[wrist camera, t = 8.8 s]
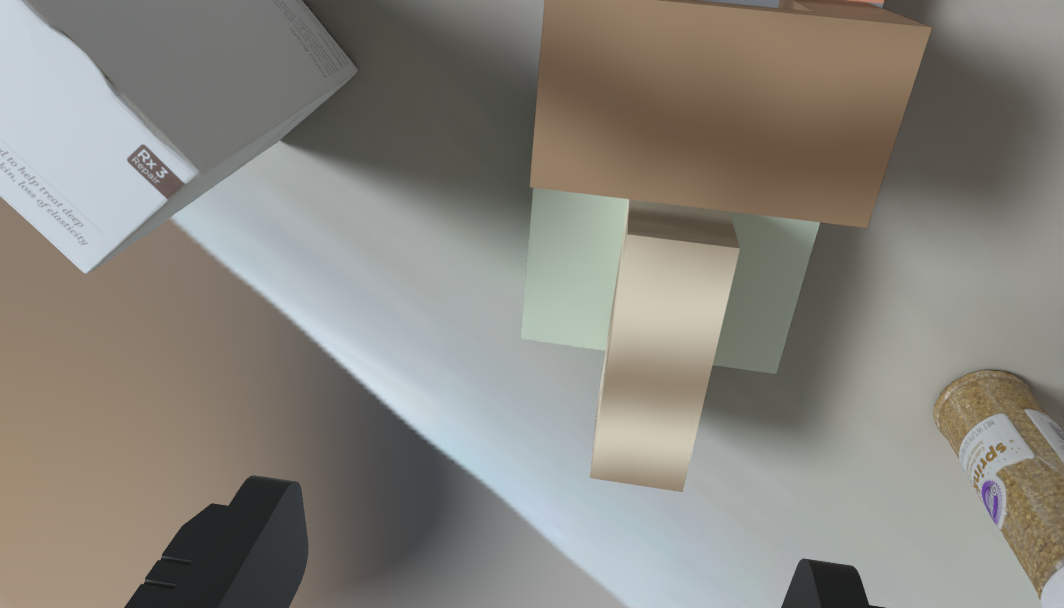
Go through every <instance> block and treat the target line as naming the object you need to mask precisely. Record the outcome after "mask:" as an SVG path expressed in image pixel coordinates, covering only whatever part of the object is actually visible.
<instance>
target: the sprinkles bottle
mask: <svg viewBox="0 0 1064 608" xmlns="http://www.w3.org/2000/svg"><path fill="white" fill-rule="evenodd" d="M933 416H934V420H935V423H936V425H937V427H938V429H939V430H940V432H941V433H942V434H943V435H944V436H945V437H946V438H947V439H948V441H949V443H950V445H951V447H952V448H953V450H954V451H955V453H956V455H957V457H958V458H959V460H960V464H961V466H962V468H963V470H964V472H965V474H966V475H967V477H968V479H969V481H970V482H971V484H972V486H973V487H974V489H975V491H976V492H977V494H978V496H979V498H980V499H981V501H982V503H983V504H984V506H985V508H986V509H987V511H988V513H989V515H990V516H991V518H992V520H993V522H994V523H995V524H996V526H997V527H998V528H999V530H1001V532H1002V533H1003V536H1004V538H1005V539H1006V541H1007V542H1008V544H1009V546H1010V547H1011V549H1012V550H1013V552H1014V554H1015V555H1016V557H1017V559H1018V561H1019V563H1020V564H1021V566H1022V567H1023V569H1024V570H1025V572H1026V574H1027V576H1028V577H1029V579H1030V581H1031V582H1032V584H1033V586H1034V588H1035V590H1036V591H1037V593H1038V596H1039V599H1040V600H1041V607H1042V608H1064V431H1063V430H1062V429H1061V428H1060V426H1059V425H1058V424H1057V423H1056V422H1055V421H1054V420H1053V419H1052V418H1050V417H1049V416H1048V415H1047V414H1046V413H1045V411H1044V410H1043V409H1042V408H1041V407H1040V406H1039V404H1038V403H1037V401H1036V400H1035V399H1034V397H1033V395H1032V393H1031V390H1030V388H1029V387H1028V386H1027V384H1026V383H1024V382H1023V381H1022V380H1021V379H1019V378H1018V377H1016V376H1015V375H1012V374H1009V373H1007V372H1002V371H994V370H981V371H978V372H973V373H969V374H967V375H965V376H963V377H961V378H959V379H957V380H955V381H953V382H952V383H951V384H950V385H948V386H947V387H946V388H945V389H944V390H943V391H942V392H941V394H940V396H939V398H938V399H937V401H936V404H935V406H934V412H933Z"/></svg>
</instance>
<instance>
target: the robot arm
mask: <svg viewBox="0 0 1064 608" xmlns="http://www.w3.org/2000/svg"><path fill="white" fill-rule="evenodd" d="M307 558H308V538H307V529H306V522H305V514H304V507H303V498H302V491H301V487H300V484H299V483H298V482H296V481H289V480H282V479H276V478H269V477H262V476H254V475H253V476H250V477H249V478H247V479H246V481H245V482H244V483H243V485H242V486H241V487H240V489H239V490H238V492H237V494H236V495H235V497H234V498H233V500H232V501H231V503H230V504H229V506H226V505H219V504H210V505H209V506H208V507H206V508H205V509H204V510H203V511H201V512H200V513H199V514H197V515H196V516H195V517H193V518H192V519H191V520H190V521H188V522H187V523H185V524H184V525H183V526H182V527H181V529H180V530H179V531H178V532H177V534H176V535H175V537H174V538H173V540H172V541H171V542H170V544H169V545H168V547H167V548H166V549H165V551H164V552H163V554H162V558H161V560H158V561H157V562H156V564H155V565H154V566H153V568H152V569H151V571H150V572H149V573H148V575H147V576H146V578H145V583H144V584H141V585H140V586H139V588H138V589H137V590H136V592H135V593H134V595H133V596H132V597H131V599H130V600H129V602H128V603H127V604H126V606H125V607H124V608H289V606H290V604H291V602H292V600H293V598H294V596H295V594H296V592H297V590H298V587H299V585H300V583H301V580H302V578H303V575H304V572H305V568H306V563H307ZM781 608H884V607H878V606H871V605H869V603H868V600H867V597H866V594H865V590H864V587H863V584H862V581H861V578H860V575H859V573H858V571H857V570H856V568H855V567H853V566H850V565H844V564H837V563H830V562H823V561H817V560H810V559H802V560H800V562H799V563H798V565H797V568H796V570H795V573H794V576H793V578H792V581H791V583H790V586H789V589H788V591H787V594H786V596H785V599H784V602H783V604H782V607H781Z"/></svg>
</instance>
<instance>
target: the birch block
mask: <svg viewBox="0 0 1064 608" xmlns="http://www.w3.org/2000/svg"><path fill="white" fill-rule="evenodd" d="M739 251H740V246H739V243H738V240H737V236H736V233H735V229H734V226H733V222H732V219H731V215H730V212H729V211H722V210H714V209H705V208H697V207H689V206H681V205H672V204H664V203H656V202H648V201H639V200H631V199H628V204H627V210H626V217H625V224H624V230H623V237H622V244H621V250H620V257H619V264H618V270H617V277H616V284H615V290H614V297H613V304H612V311H611V317H610V324H609V331H608V337H607V344H606V351H605V357H604V364H603V371H602V377H601V384H600V391H599V397H598V404H597V411H596V422H595V432H594V443H593V453H592V464H591V474H590V478H594V479H601V480H607V481H614V482H620V483H627V484H634V485H640V486H647V487H653V488H660V489H666V490H673V491H679V492H683V488H684V484H685V480H686V475H687V471H688V467H689V463H690V459H691V454H692V450H693V446H694V442H695V437H696V433H697V429H698V425H699V420H700V416H701V412H702V408H703V403H704V399H705V395H706V391H707V387H708V382H709V378H710V374H711V370H712V365H713V361H714V357H715V353H716V348H717V344H718V340H719V336H720V331H721V327H722V323H723V319H724V314H725V310H726V306H727V302H728V298H729V293H730V289H731V285H732V281H733V276H734V272H735V268H736V264H737V259H738V255H739Z"/></svg>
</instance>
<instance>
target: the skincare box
mask: <svg viewBox="0 0 1064 608" xmlns="http://www.w3.org/2000/svg"><path fill="white" fill-rule="evenodd" d="M357 72H358V70H357V68H356V67H355V65H354V64H353V63H352V62H351V60H350V59H349V58H348V56H347V55H346V54H345V53H344V51H343V50H342V49H341V48H340V46H339V45H338V44H337V43H336V42H335V40H334V39H333V38H332V37H331V35H330V34H329V33H328V32H327V30H326V29H325V28H324V27H323V26H322V24H321V23H320V22H319V21H318V19H317V18H316V17H315V16H314V14H313V13H312V12H311V11H310V9H309V8H308V7H307V6H306V5H305V3H304V2H303V1H302V0H0V196H1V197H2V198H3V199H4V200H5V201H6V202H7V203H9V204H10V205H11V206H12V207H13V208H14V209H15V210H16V211H17V212H18V213H19V214H21V215H22V216H23V217H24V218H25V219H26V220H27V221H28V222H29V223H30V224H32V225H33V226H34V227H35V228H36V229H37V230H38V231H39V232H40V233H42V235H43V236H45V237H46V238H47V239H48V240H49V241H50V242H51V243H52V244H53V245H54V246H55V247H56V248H58V249H59V250H60V251H61V252H62V253H63V254H64V255H65V256H66V257H67V258H68V259H69V260H70V261H71V262H73V263H74V264H75V265H76V266H77V267H78V268H79V269H80V270H81V271H82V272H83V273H86V274H88V273H90V272H91V271H93V270H95V269H96V268H98V267H100V266H101V265H103V264H104V263H106V262H107V261H108V260H110V259H112V258H113V257H114V256H116V255H117V254H119V253H120V252H122V251H123V250H124V249H126V248H127V247H129V246H130V245H131V244H133V243H134V242H136V241H137V240H139V239H140V238H142V237H144V236H145V235H147V234H148V233H150V232H151V231H153V230H154V229H155V228H157V227H158V226H160V225H161V224H162V223H164V222H165V221H166V220H168V219H169V218H170V217H171V216H173V215H174V214H175V213H177V212H178V211H180V210H181V209H183V208H184V207H186V206H187V205H188V204H190V203H191V202H193V201H194V200H196V199H197V198H198V197H200V196H201V195H202V194H204V193H205V192H207V191H208V190H210V189H211V188H212V187H214V186H215V185H217V184H218V183H219V182H221V181H222V180H224V179H225V178H227V177H228V176H230V175H231V174H233V173H234V172H235V171H237V170H238V169H240V168H241V167H242V166H244V165H245V164H247V163H248V162H249V161H251V160H252V159H254V158H255V157H257V156H258V155H260V154H261V153H262V152H264V151H265V150H267V149H268V148H270V147H271V146H273V145H274V144H276V143H277V142H278V141H279V140H281V139H282V138H283V137H284V136H285V135H286V134H287V133H289V132H290V131H291V130H292V129H293V128H294V127H296V126H297V125H298V124H299V123H300V122H302V121H303V120H304V119H305V118H306V117H307V116H309V115H310V114H311V113H312V112H313V111H314V110H315V109H317V108H318V107H319V106H320V105H321V104H322V103H324V102H325V101H326V100H327V99H328V98H329V97H331V96H332V95H333V94H334V93H335V92H336V91H337V90H339V89H340V88H341V87H342V86H343V85H344V84H345V83H347V82H348V81H349V80H350V79H351V78H352V77H353V76H354V75H355V74H356V73H357Z"/></svg>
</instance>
